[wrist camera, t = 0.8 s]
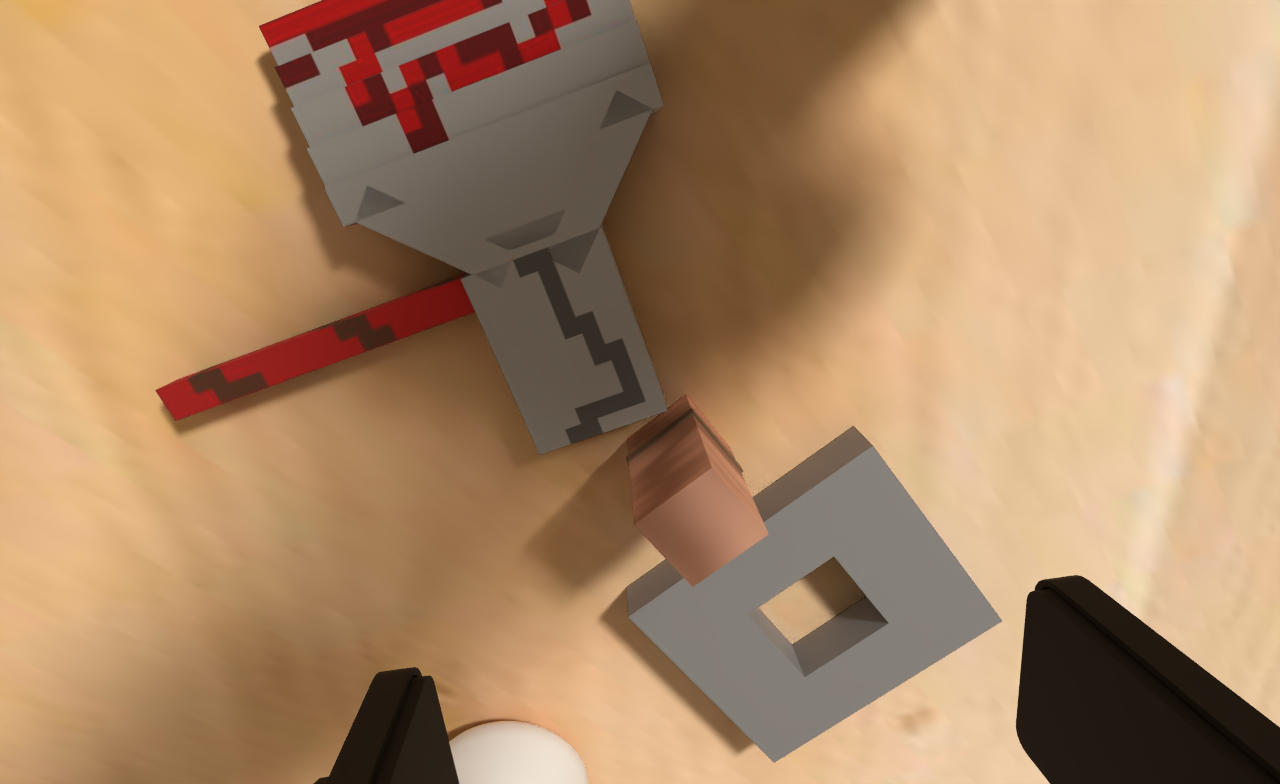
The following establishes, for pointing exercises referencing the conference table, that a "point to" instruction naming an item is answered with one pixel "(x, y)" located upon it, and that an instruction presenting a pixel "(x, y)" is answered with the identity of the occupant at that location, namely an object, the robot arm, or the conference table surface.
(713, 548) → the peg
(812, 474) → the board
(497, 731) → the flower in vase
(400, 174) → the grey and red axe
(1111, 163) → the conference table surface
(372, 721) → the robot arm
